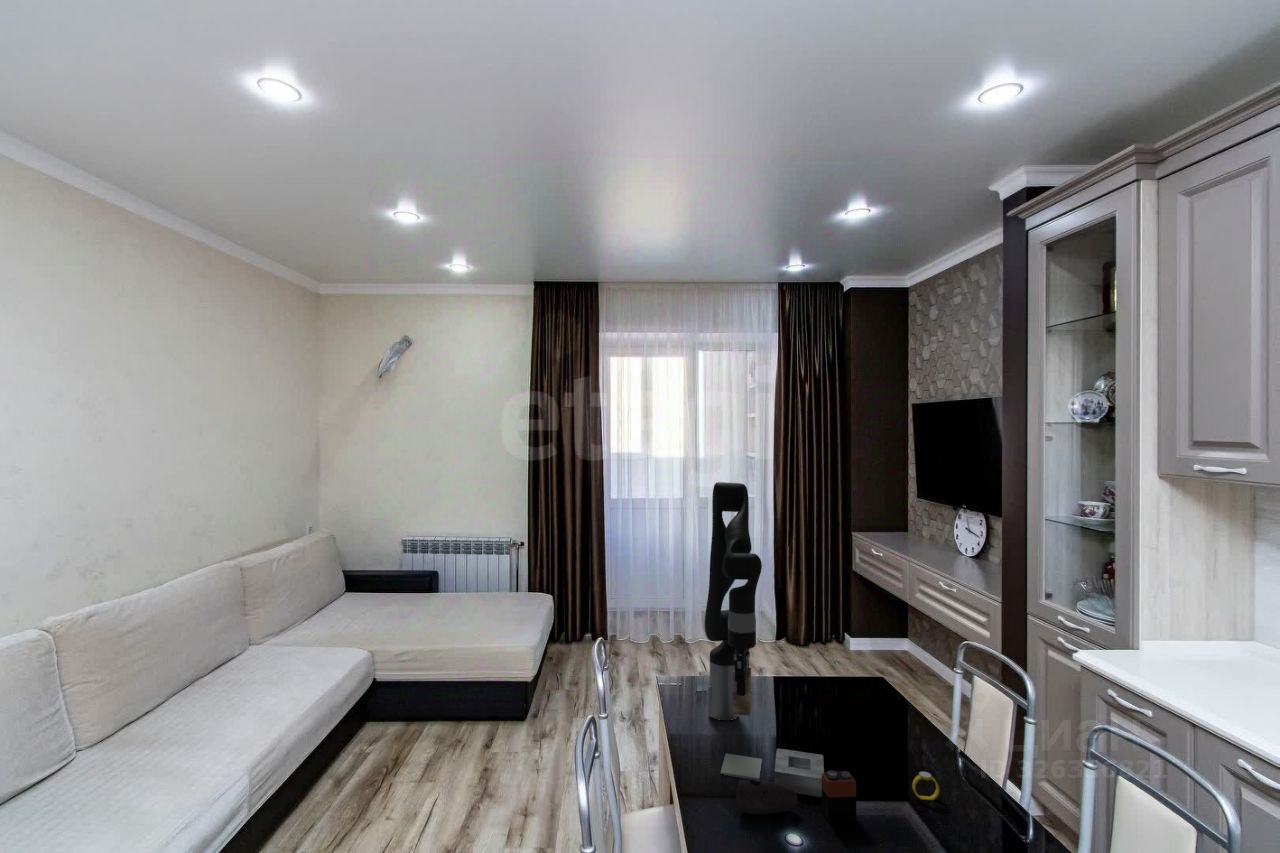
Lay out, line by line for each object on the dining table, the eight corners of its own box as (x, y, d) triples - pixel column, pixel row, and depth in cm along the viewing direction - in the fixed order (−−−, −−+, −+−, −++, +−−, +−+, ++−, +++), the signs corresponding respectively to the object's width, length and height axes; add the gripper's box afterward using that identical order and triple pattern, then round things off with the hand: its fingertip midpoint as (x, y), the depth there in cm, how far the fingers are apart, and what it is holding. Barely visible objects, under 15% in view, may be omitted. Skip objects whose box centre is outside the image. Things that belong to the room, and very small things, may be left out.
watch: (916, 802, 143) (913, 777, 143) (911, 795, 145) (909, 771, 146) (941, 802, 142) (939, 777, 142) (937, 795, 145) (934, 771, 145)
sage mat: (720, 774, 154) (720, 772, 154) (725, 755, 163) (725, 753, 163) (759, 780, 151) (759, 778, 151) (762, 761, 161) (762, 758, 161)
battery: (821, 811, 138) (820, 768, 139) (848, 810, 139) (848, 767, 139) (828, 823, 134) (828, 778, 134) (857, 821, 134) (856, 777, 135)
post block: (774, 789, 147) (774, 771, 147) (776, 765, 158) (776, 748, 159) (824, 797, 144) (824, 779, 144) (823, 772, 155) (823, 754, 155)
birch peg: (732, 713, 156) (732, 671, 157) (734, 706, 161) (734, 666, 161) (749, 715, 155) (749, 673, 156) (751, 708, 159) (751, 667, 160)
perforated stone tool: (794, 805, 141) (794, 775, 141) (801, 819, 135) (800, 788, 136) (732, 805, 140) (732, 775, 141) (736, 818, 135) (736, 788, 136)
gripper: (731, 619, 167) (731, 680, 166) (724, 633, 153) (724, 700, 152) (758, 621, 165) (758, 683, 164) (753, 636, 151) (753, 704, 150)
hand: (742, 691), depth 158 cm, fingers closed on birch peg, 4 cm apart
